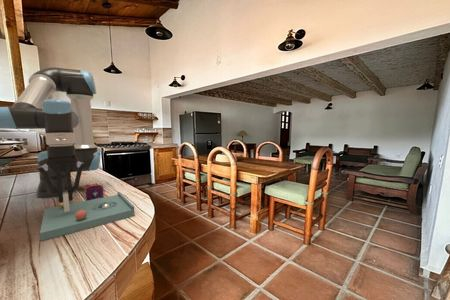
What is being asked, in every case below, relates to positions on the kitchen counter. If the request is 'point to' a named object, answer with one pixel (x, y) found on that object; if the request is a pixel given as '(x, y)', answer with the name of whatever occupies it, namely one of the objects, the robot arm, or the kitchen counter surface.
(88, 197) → the mug
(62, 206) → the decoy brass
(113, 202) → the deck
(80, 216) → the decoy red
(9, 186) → the kitchen counter surface
